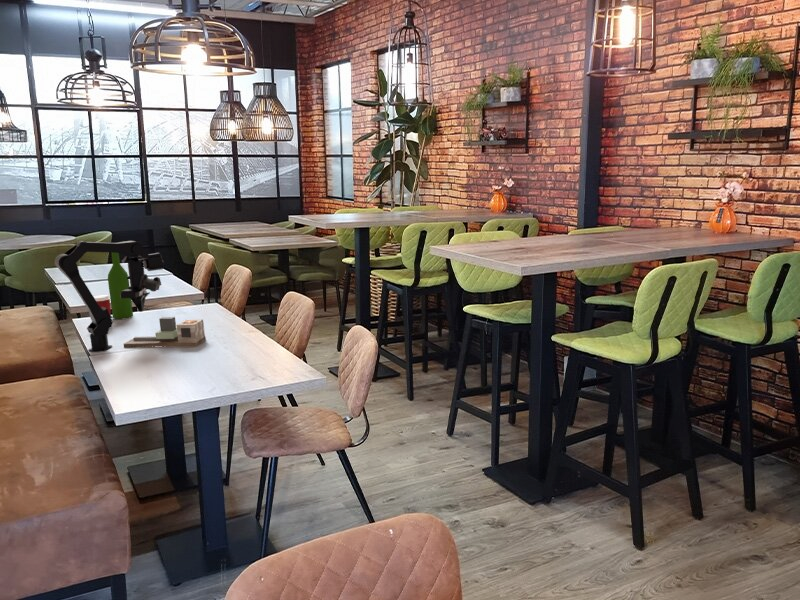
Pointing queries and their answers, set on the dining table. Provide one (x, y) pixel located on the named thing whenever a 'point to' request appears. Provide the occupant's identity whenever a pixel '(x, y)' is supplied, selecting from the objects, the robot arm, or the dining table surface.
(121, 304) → the wine bottle
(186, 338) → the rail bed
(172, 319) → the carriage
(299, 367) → the dining table surface
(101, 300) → the paper cup
